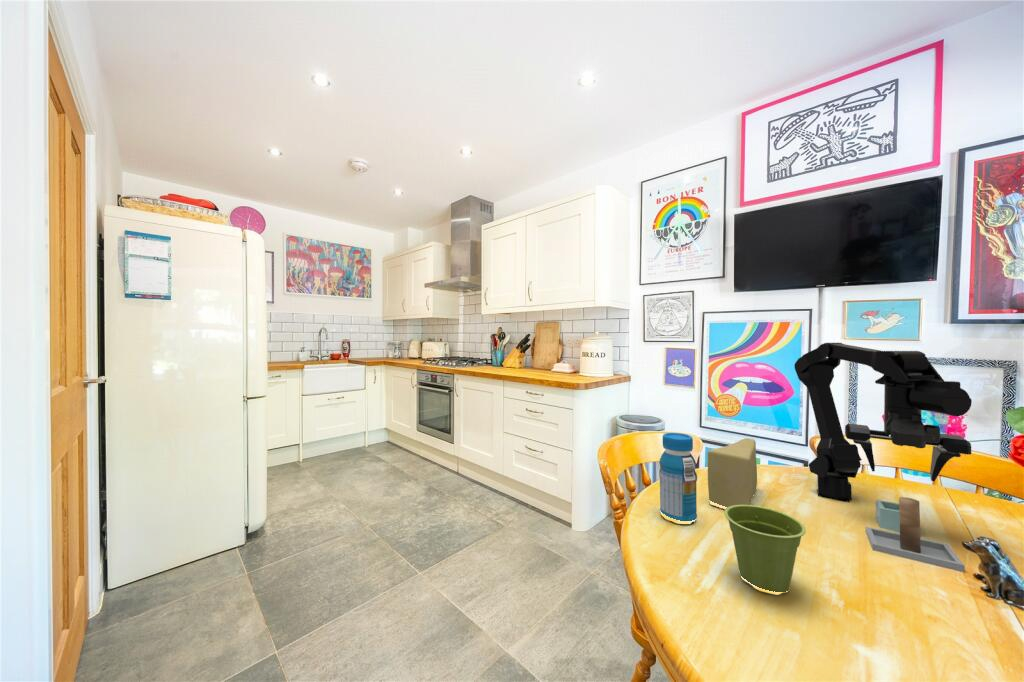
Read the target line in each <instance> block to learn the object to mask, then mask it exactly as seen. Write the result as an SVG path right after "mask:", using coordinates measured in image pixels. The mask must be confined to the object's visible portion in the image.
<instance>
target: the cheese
mask: <svg viewBox="0 0 1024 682" xmlns="http://www.w3.org/2000/svg"><path fill="white" fill-rule="evenodd" d="M757 464H758V463H757V447H756V440H755V439H753V438H743V439H740V440H738V441H736V442H734V443H731V444H728V445H726V446H722V447H721V446H720V447H717V448H712V449H709V450H708V451H707V487H708V501H709V500H710V501H712V502H714V503H717V504H719V505H722V506H725V507H727V508H728V507H730V506H734V505H752V500H751V499H753V498H754V497H753V495H754V494H756V492H757V487H758V470H757V469H758V467H757ZM754 496H755V495H754ZM752 497H753V498H752Z"/></svg>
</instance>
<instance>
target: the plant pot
mask: <svg viewBox="0 0 1024 682" xmlns="http://www.w3.org/2000/svg"><path fill="white" fill-rule="evenodd" d="M724 516H725V518H726V519H727V521H728V524H729V529H730V531H731V533H732V539H733V544H734V550H735V555H736V560H737V565H738V569H739V570H738V572H739V575H740V574H741V576H742V577H743V578H744V579H746V580H747V581H748V582H750V583H751V584H753V585H755V586H757V587H759V588H762V589H765V590H769V591H773V592H774V591H775V592H786V591H788V590H789V591H790V589H789V588H791V583H792V577H793V573H794V566H795V562H796V557H797V551H798V547H800V543H801V539H802V537H803V536H804V535H805V534H806V532H807V529H806V526H805V524H803V523H802V522H801V521H799V519H797V518H796V517H794V516H791V515H789V514H787V513H786V512H785V513H784V512H783V511H779V510H777V509H772V508H768V507H765V506H760V505H753V504H751V505H734V506H730V507H728V508H726V509H725V510H724ZM741 576H740V577H741ZM789 591H788V592H789Z"/></svg>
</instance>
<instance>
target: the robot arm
mask: <svg viewBox="0 0 1024 682" xmlns="http://www.w3.org/2000/svg"><path fill="white" fill-rule="evenodd" d="M841 360H842V361H845V362H846V361H847V362H850V363H851V362H852V363H854V364H858V365H860V364H861V365H864V366H868V367H870V368H872V370H873V371H874V372H876V373H880V374H882V376H881V377H879V378H877V379H876V380H875V381H874V383H875V384H877V385H884V395H883V396H884V404H883V405H884V407H883V408H884V412H883V413H884V414H883V417H884V418H883V419H884V420H883V430H875V429H870V427H869V426H868V425H865V424H858V423H857V424H856V423H855V424H854V423H847V424H846V425H845V426H844V433H843V429H842V426H841V422H840V421H841V420H840V417H839V414H838V411H837V406H836V404H835V399H834V396H833V392H832V388H831V384H832V381H833V380H834V378H835V372H834V370H835V369H836V368H838V367H839V366H840V364H841ZM794 370H795V373H796V376H797V379H798V380H799V381H800V382H801V384H803V385H804V386H805V387H806V388H807V390H808V394H809V398H810V402H811V406H812V409H813V415H814V418H815V421H816V426H817V430H818V434H819V438H820V440H819V442H818V444H817V446H816V456H817V457H815V458H814V459H812V461H810V463H809V464H808V469H809V472H810V473H812V474H814V475H816V476H817V480H816V481H817V485H816V486H817V489H816V494H817V496H818V497H819V498H824V499H828V500H832V501H833V500H834V501H840V502H844V503H851V501H853V500H852V483H851V482H850V481H849V478H852V479H853V478H854V479H856V477H857V474H858V472H859V470H860V468H861V461H862V458H861V456H860V454H859V449H858V446H857V445H860V446H861V448H862V450H863V452H864V454H865V456H866V459H867V462H868V464H869V467H870V469H871V471H872V472H875V471H876V469H875V468H876V466H875V465H876V464H875V459H874V457H875V456H874V453H873V443H872V442H871V439H879V440H887V441H891V443H892V444H894V445H895V446H899V447H903V446H904V447H905V446H907V447H913V448H914V447H915V448H917V449H924V448H926V445H927V446H932V453H931V462H930V469H929V473H930V475H929V476H930V481H931V482H935V481H936V480H937V478H938V476H939V474H941V473H940V472H941V471H942V469H943V468H944V466H945V465H946V464H947V463H948V462H949V461H950V460H951V459H953V458H961V456H962V455H972V443H971V442H970V441H968V440H967V439H965V438H964V437H962V436H961V435H956V434H949V433H948V434H947V433H941V427H940V426H939V425H938V424H937V425H936V424H924V423H923V421H922V419H923V418H922V416H923V415H922V412H923V411H925V412H930V413H936V414H940V415H946V416H951V417H960V416H961V417H962V416H963V415H966V414H967V413H968V412H969V410H971V407H972V403H973V402H972V398H971V397H970V395H969V393H968V392H967V391H966V390H965V389H964V388H961V382H960V381H952V380H947V381H946V380H944V378H943V377H942V376H941V375H940V373H939V372H938V371H937V369H935V367H934V366H933V365H932V363H931V362H930V361H929V359H928V357H927V356H926V354H925V353H924V352H922V351H919V350H881V349H880V350H879V349H876V348H875V349H873V348H870V347H869V348H868V347H862V346H857V345H851V344H850V345H849V344H845V343H842V342H824V343H821V344H820V345H819V346H818V347H817V348H815V349H812V350H810V351H809V352H807V353H804V354H803V355H802V356H800V357H799V358H798V359H797V360H796V361H795V363H794ZM844 435H845V436H844ZM845 437H846V438H845ZM847 439H848V440H851V441H853V443H854V444H853V443H852V444H851V443H850V442H849V441H848V440H847Z"/></svg>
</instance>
